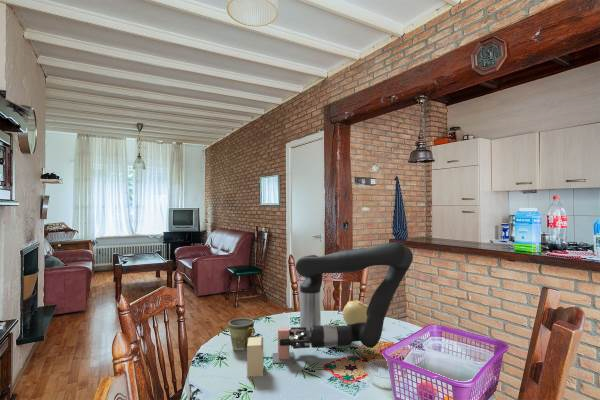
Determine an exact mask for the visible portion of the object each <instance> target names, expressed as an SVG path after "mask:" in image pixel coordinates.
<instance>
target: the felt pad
mask: <svg viewBox="0 0 600 400" xmlns="http://www.w3.org/2000/svg"><path fill="white" fill-rule="evenodd" d="M289 352H290V351H289ZM275 364H276V365H277V364H296V357H295V352H294V351H291V352H290V359H278V352H272V365H275Z"/></svg>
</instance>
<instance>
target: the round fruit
mask: <svg viewBox="0 0 600 400" xmlns="http://www.w3.org/2000/svg"><path fill="white" fill-rule="evenodd" d="M368 306H369V304H368V305H367V304H366V303H363V302H362V301H361V300H349V301H347V302H346V305H344V308H343V310H342V318H343V320H344V322H345V323H346V325H351V324H355V323H362V322H364V323H366V320H367V315H366V312H367V308H368Z"/></svg>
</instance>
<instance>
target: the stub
mask: <svg viewBox="0 0 600 400" xmlns="http://www.w3.org/2000/svg"><path fill="white" fill-rule="evenodd" d="M289 329H290V328H289V327H277V353H278V359H290V346H280V339H290V336H289Z"/></svg>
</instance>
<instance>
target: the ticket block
mask: <svg viewBox="0 0 600 400" xmlns="http://www.w3.org/2000/svg"><path fill="white" fill-rule="evenodd" d="M246 352H247V353H246V372H247V373H246V377H247V378H258V376H260V377H261V376H262V377H263V376H264V377H266V376H267V375H266V374H267V371H266V369H267V367H266V366H264V337H263V336H261V337H260V336H258V337H257V336H255V337H254V336H252V337H251V338H248V344H247V350H246ZM250 376H251V377H250ZM252 376H253V377H252ZM255 376H257V377H255ZM260 377H259V378H260Z"/></svg>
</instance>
